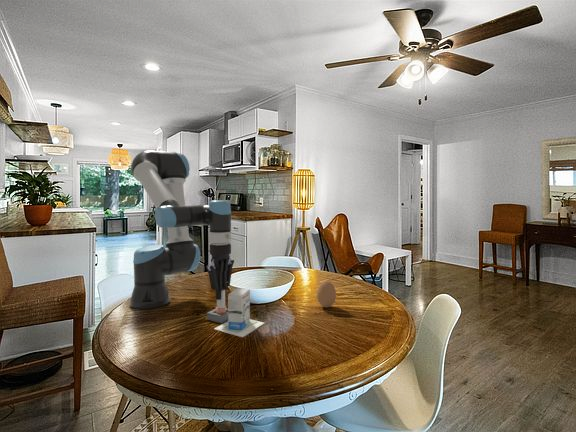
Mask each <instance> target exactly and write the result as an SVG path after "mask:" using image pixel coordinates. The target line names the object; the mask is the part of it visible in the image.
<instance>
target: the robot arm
mask: <svg viewBox="0 0 576 432" xmlns="http://www.w3.org/2000/svg"><path fill="white" fill-rule="evenodd" d="M190 169H191V168H190V163H189V160H188V158H187V157H186V155H185V154H183V153H182V152H175V151H163V150H162V151H161V150H152V149H150V150H149V149H148V150H144V151H141V152H140V153H138V154H137V155H135V157H134V158H133V160H132V161H131V167H130V170H131V173H132V176H133V178H134V179H135V180H136V181H137V182H139V183H140V185H142V187H143V189H144V190H145V192H146V193H147V196H148V197H149V199H150V200H151V202H152V204H153V206H154V207H155V211H154V220H155V224H156V225H157V226H158V228H167V236H168V240H167V241H166V243H165V245H163V244H151V245H146V246H142V247H139V248H137V249H136V250H135V251H134V253H133V261H132V263H133V275H134V276H133V279H134V282H133V283H134V284H133V285H134V286H133V290H132V292H131V293H132V294H131V297H130V299H129V304H130V307H131V308H133V309H136V310H137V309H139V310H148V309H155V308H159V307H162V306H166V305H167V304H168V303H170V301H171V297H170V296H171V295H170V293H169V290H168V287H167V285H166V276H169V275H171V276H172V275H175V274H182V273H188V272H191V271H194V270H196V269H197V268H198V266H199V264H200V261H201V250H200V248H199V246H198V244H195V243H194V239H193V238H191V237H190V233H189V227H193V226H194V227H195V226H209V243H210V244H209V254H210V255H211V259H210V263H209V264H207V265H206V266H205V268H206V270H207V274H208V278H209V283H210V288H211V290H213V291H215V299H216V307H218V308H222V309H223V308H225V307H226V297H227V290H228V289H229V287H230V285H231V280H232V272H233V266H234V264H235V260H234V259H232V258H230V257H231V256H230V255H231V253H232V244H231V242H232V239H231V238H232V230H231V229H232V209H231V202H230V201H229V200H226V199H225V200H222V199H221V200H220V199H217V200H215V199H213V200H210V201H209V205H208V204H206V203H205V204H198V205H197V204H196V205H194V204H193V205H192V204H191V205H186V199H185V192H184V184H185V182H186V181H187V180H186V179H187V178H189V175H190Z"/></svg>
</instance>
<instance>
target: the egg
mask: <svg viewBox="0 0 576 432" xmlns="http://www.w3.org/2000/svg"><path fill="white" fill-rule="evenodd" d="M316 299H317V301H318V304H319V305H321V307H323V308H326V309H327V308H328V309H329V308H331V307H332V306H333V305H334V304H335V302H336V299H337V293H336V288H335V286H334V284H333V283H332V282H331V281H329V280H324V281H322V282H321V283H320V284H319V286H318V289H317V291H316Z"/></svg>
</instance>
